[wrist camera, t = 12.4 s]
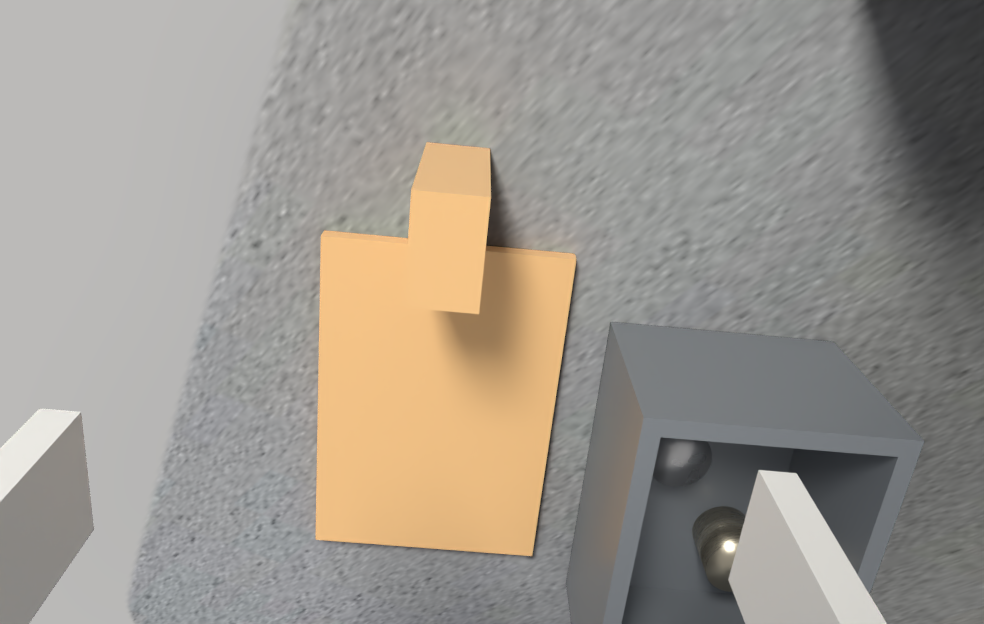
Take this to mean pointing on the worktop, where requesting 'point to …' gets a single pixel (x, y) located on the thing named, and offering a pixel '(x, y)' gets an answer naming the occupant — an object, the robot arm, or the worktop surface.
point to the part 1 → (681, 461)
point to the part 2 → (718, 542)
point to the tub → (724, 463)
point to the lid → (438, 372)
